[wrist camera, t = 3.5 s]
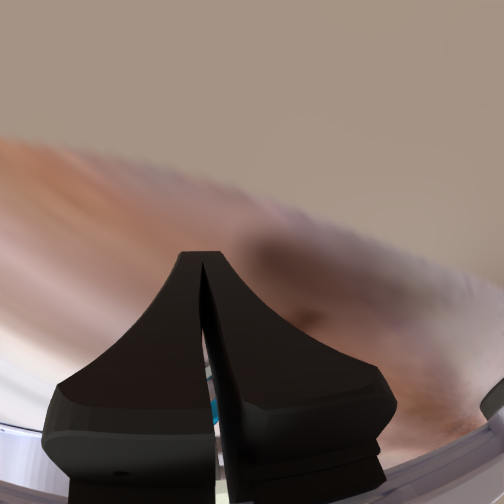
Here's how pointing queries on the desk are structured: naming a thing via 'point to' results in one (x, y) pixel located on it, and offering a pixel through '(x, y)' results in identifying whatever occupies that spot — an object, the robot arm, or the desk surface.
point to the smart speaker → (493, 400)
